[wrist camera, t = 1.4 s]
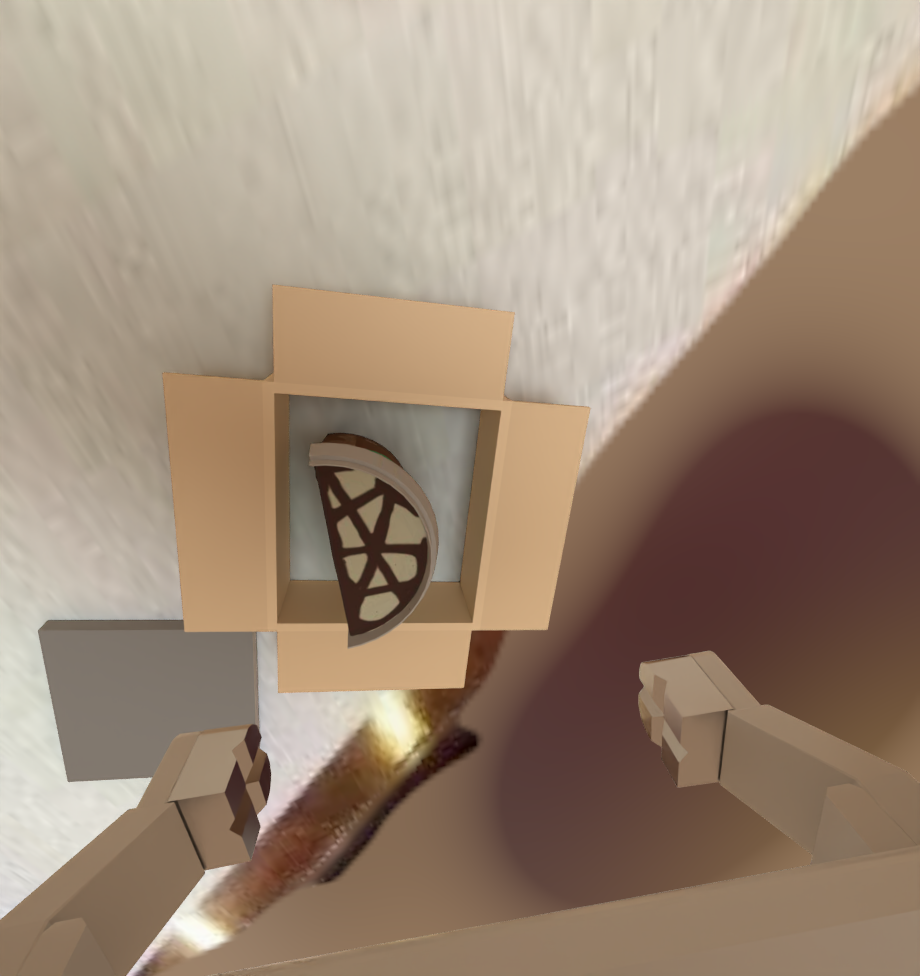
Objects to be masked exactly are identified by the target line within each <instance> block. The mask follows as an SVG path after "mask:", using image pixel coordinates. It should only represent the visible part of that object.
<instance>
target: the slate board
mask: <svg viewBox="0 0 920 976" xmlns="http://www.w3.org/2000/svg"><path fill="white" fill-rule="evenodd" d="M38 634H39V639H40V644H41V649H42V654H43V659H44V664H45V669H46V674H47V679H48V684H49V689H50V694H51V699H52V704H53V709H54V714H55V719H56V724H57V729H58V734H59V739H60V744H61V749H62V754H63V759H64V764H65V769H66V774H67V780H68V782H75V781H94V780H112V779H130V778H148V777H153V776H154V774H155V772H156V770H157V768H158V766H159V764H160V763H161V761H162V759H163V757H164V755H165V753H166V751H167V749H168V747H169V746H170V744H171V742H172V740H173V739H174V738H175V737H176V736H178V735H179V734H183V733H191V732H199V731H204V730H209V729H217V728H224V727H232V726H239V725H247V724H255V725H257V727H258V729H259V709H258V676H257V642H256V632H185V631H184V620H48V621H47V622H46V623H45V624H44V625H43V626H42V627H41V628H40V629H39V630H38ZM258 748H259V749H260V744H259V747H258Z"/></svg>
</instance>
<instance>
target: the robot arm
mask: <svg viewBox="0 0 920 976" xmlns="http://www.w3.org/2000/svg"><path fill="white" fill-rule="evenodd" d="M639 678H640V680H641V681H642V683H643V684H644V688H643V689H642V690H641V692H640V693H639V710H640V714H641V719H642V722H643V725H644V727H645V730H646V732H647V734H648V736H649V737H650V739H651V741H653V742H655V743H656V744H658V745H659V746H661V747H662V754H661V759H662V761H663V763H664V765H665V766H666V768H667V770H668V771H669V773H670V775H671V777H672V779H673V781H674V782H675V784H676V786H677V787H678V788H679V787H685V786H692V785H700V784H707V783H714V782H720V785H722V786H723V787H724V788H726V789H727V790H728V791H729V792H731V793H732V794H734V795H735V796H736V797H737V798H738V799H740V800H741V801H743V802H744V803H745V804H746V805H748V806H749V807H751V808H752V809H753V810H754V811H756V812H757V813H758V814H759V815H761V816H762V817H763V818H765V819H766V820H767V821H769V822H770V823H771V824H773V825H774V826H775V827H776V828H778V829H779V830H781V831H782V832H783V833H784V834H786V835H787V836H788V837H790V838H791V839H792V840H793V841H795V842H796V843H797V844H799V845H800V846H801V847H803V848H804V849H805V850H807V851H808V852H809V853H811V854H812V860H811V864H810V865H808V866H802V867H797V868H792V869H787V870H781V871H776V872H770V873H764V874H759V875H753V876H748V877H742V878H737V879H732V880H726V881H721V882H715V883H710V884H705V885H699V886H693V887H688V888H683V889H678V890H672V891H667V892H661V893H656V894H651V895H645V896H639V897H634V898H629V899H624V900H618V901H612V902H607V903H602V904H597V905H591V906H585V907H580V908H575V909H570V910H564V911H559V912H553V913H548V914H542V915H538V916H532V917H526V918H521V919H515V920H510V921H505V922H499V923H493V924H488V925H482V926H477V927H471V928H466V929H461V930H455V931H449V932H444V933H438V934H433V935H427V936H422V937H417V938H412V939H405V940H400V941H394V942H389V943H384V944H378V945H372V946H367V947H362V948H356V949H351V950H346V951H340V952H335V953H330V954H324V955H318V956H313V957H307V958H302V959H297V960H291V961H285V962H280V963H275V964H269V965H263V966H258V967H253V968H247V969H242V970H237V971H231V972H225V973H220V974H214V975H209V976H920V783H919V782H918V781H917V780H915V779H914V778H913V777H912V776H911V775H910V774H909V773H908V772H907V771H905V770H903V769H901V768H898V767H897V766H894V765H892V764H890V763H888V762H886V761H884V760H882V759H880V758H878V757H876V756H874V755H872V754H870V753H867V752H865V751H863V750H861V749H859V748H857V747H855V746H853V745H851V744H849V743H847V742H845V741H842V740H840V739H838V738H836V737H834V736H832V735H830V734H828V733H826V732H824V731H822V730H820V729H818V728H816V727H813V726H811V725H809V724H807V723H805V722H803V721H801V720H799V719H797V718H795V717H793V716H791V715H788V714H786V713H784V712H782V711H780V710H778V709H776V708H774V707H772V706H770V705H762V706H761V705H760V704H759V703H758V702H757V701H756V699H755V698H754V697H753V696H752V695H751V694H750V693H749V692H748V690H747V689H746V688H745V687H744V686H743V685H742V684H741V682H740V681H739V680H738V679H737V678H736V677H735V676H734V674H733V673H732V672H731V671H730V670H729V669H728V668H727V667H726V665H725V664H724V663H723V662H722V661H721V660H720V659H719V657H718V656H717V655H716V654H715V653H713V652H711V651H706V652H700V653H694V654H688V655H686V656H685V655H684V656H678V657H671V658H666V659H659V660H654V661H647V662H642V663H641V666H640V670H639ZM261 738H262V737H261V734H260V732H259V729H258V727H257V725H255V724H247V725H239V726H232V727H224V728H217V729H209V730H204V731H199V732H191V733H183V734H179V735H178V736H176V737H175V738H174V739H173V740H172V742H171V744H170V746H169V747H168V749H167V751H166V753H165V755H164V757H163V759H162V761H161V763H160V764H159V766H158V768H157V770H156V772H155V774H154V776H153V778H152V780H151V781H150V783H149V785H148V787H147V789H146V791H145V793H144V795H143V797H142V798H141V800H140V802H139V804H138V806H137V808H134V809H129V810H127V811H126V812H125V813H124V814H123V815H121V816H120V817H119V818H118V819H117V820H116V821H115V822H113V823H112V824H111V825H110V826H109V827H108V828H106V829H105V830H104V831H103V832H102V833H101V834H99V835H98V836H97V837H96V838H95V839H94V840H92V841H91V842H90V843H89V844H88V845H87V846H86V847H84V848H83V849H82V850H81V851H80V852H79V853H77V854H76V855H75V856H74V857H73V858H72V859H70V860H69V861H68V862H67V863H66V864H65V865H64V866H62V867H61V868H60V869H59V870H58V871H57V872H55V873H54V874H53V875H52V876H51V877H50V878H48V879H47V880H46V881H45V882H44V883H43V884H41V885H40V886H39V887H38V888H37V889H36V890H35V891H33V892H32V893H31V894H30V895H29V896H28V897H26V898H25V899H24V900H23V901H22V902H21V903H19V904H18V905H17V906H16V907H15V908H14V909H13V910H11V911H10V912H9V913H8V914H7V915H6V916H4V917H3V918H2V919H1V920H0V976H126V975H127V974H128V973H129V971H130V970H131V969H132V967H133V966H134V965H135V963H136V962H137V961H138V960H139V958H140V957H141V956H142V954H143V953H144V952H145V950H146V949H147V948H148V947H149V945H150V944H151V943H152V941H153V940H154V939H155V937H156V936H157V935H158V934H159V932H160V931H161V930H162V928H163V927H164V926H165V924H166V923H167V922H168V921H169V919H170V918H171V917H172V915H173V914H174V913H175V911H176V910H177V909H178V908H179V906H180V905H181V904H182V902H183V901H184V900H185V899H186V897H187V896H188V895H189V893H190V892H191V891H192V889H193V888H194V887H195V886H196V884H197V883H198V882H199V880H200V879H201V878H202V876H203V875H204V874H205V871H204V870H209V869H214V868H219V867H224V866H229V865H234V864H238V863H243V862H248V861H251V859H252V855H253V852H254V848H255V844H256V841H257V837H258V834H259V830H260V823H259V820H258V817H257V814H258V813H259V812H260V811H261V810H262V809H263V808H264V807H265V805H266V804H267V800H268V797H269V793H270V784H271V769H270V762H269V759H268V756H267V753H265V752H264V751H262V750H261V749H259V748H258V747H259V744H260V741H261Z"/></svg>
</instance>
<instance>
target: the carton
mask: <svg viewBox="0 0 920 976" xmlns="http://www.w3.org/2000/svg"><path fill="white" fill-rule="evenodd" d="M272 287H273V359H274V373H272V374H271V375H270V376H268V377H267V378H266V379H265V380H253V379H240V378H228V377H216V376H204V375H191V374H179V373H167V372H164V373H162V374H163V386H164V397H165V409H166V421H167V432H168V444H169V456H170V467H171V479H172V491H173V503H174V514H175V526H176V538H177V549H178V561H179V573H180V584H181V596H182V608H183V619H184V631H185V632H269V631H277V647H278V693H293V692H329V691H365V690H401V689H437V688H464V682H465V675H466V667H467V660H468V653H469V645H470V638H471V631H472V630H547V628H548V624H549V618H550V613H551V608H552V603H553V597H554V592H555V588H556V582H557V577H558V572H559V567H560V562H561V557H562V551H563V546H564V541H565V535H566V531H567V526H568V520H569V516H570V510H571V505H572V500H573V495H574V490H575V485H576V480H577V474H578V469H579V464H580V459H581V454H582V449H583V444H584V438H585V433H586V428H587V423H588V418H589V413H590V407H584V406H572V405H560V404H547V403H535V402H523V401H511V400H510V399H508V398H507V397H506V396H504V388H505V381H506V373H507V366H508V358H509V351H510V344H511V336H512V329H513V322H514V314H515V312H506V311H498V310H489V309H480V308H472V307H463V306H454V305H445V304H437V303H428V302H419V301H411V300H402V299H393V298H385V297H376V296H367V295H359V294H350V293H341V292H333V291H324V290H315V289H307V288H298V287H289V286H281V285H272ZM289 394H293V395H305V396H318V397H331V398H344V399H357V400H370V401H383V402H396V403H409V404H422V405H435V406H448V407H461V408H474V409H481V414H480V423H479V431H478V439H477V447H476V455H475V463H474V472H473V480H472V488H471V496H470V504H469V512H468V521H467V529H466V537H465V545H464V553H463V561H462V569H461V578H460V582H430V585H429V587H428V589H427V591H426V593H425V595H424V597H423V598H422V600H421V601H420V602H419V604H418V605H417V606H416V608H415V609H414V610H413V612H412V613H411V614H410V615H409V616H408V617H407V618H406V619H405V620H404V621H403V622H402V623H401V624H400V625H399V626H397V627H396V628H395V629H393V630H392V631H391V632H389V633H388V634H386V635H384V636H382V637H380V638H379V639H377V640H374V641H372V642H369V643H367V644H364V645H361V646H357V647H354V648H350V649H348V648H347V647H348V624H347V619H346V615H345V610H344V605H343V601H342V596H341V591H340V586H339V582H338V581H312V580H290V498H289Z"/></svg>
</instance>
